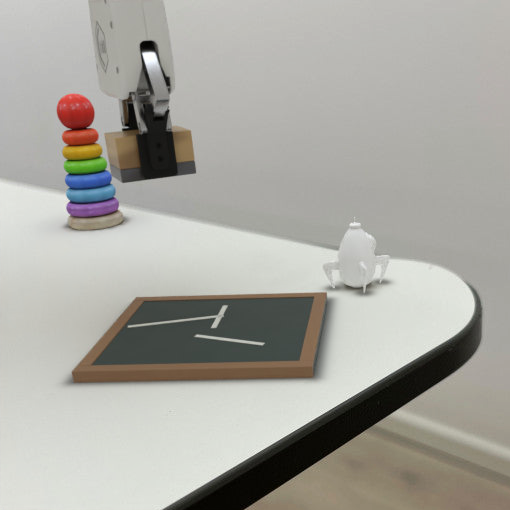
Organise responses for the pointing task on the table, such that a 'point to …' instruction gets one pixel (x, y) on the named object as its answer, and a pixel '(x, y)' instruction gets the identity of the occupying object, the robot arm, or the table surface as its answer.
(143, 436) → the table surface
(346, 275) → the rocket toy
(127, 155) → the eraser
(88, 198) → the stacking toy
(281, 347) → the chalkboard
